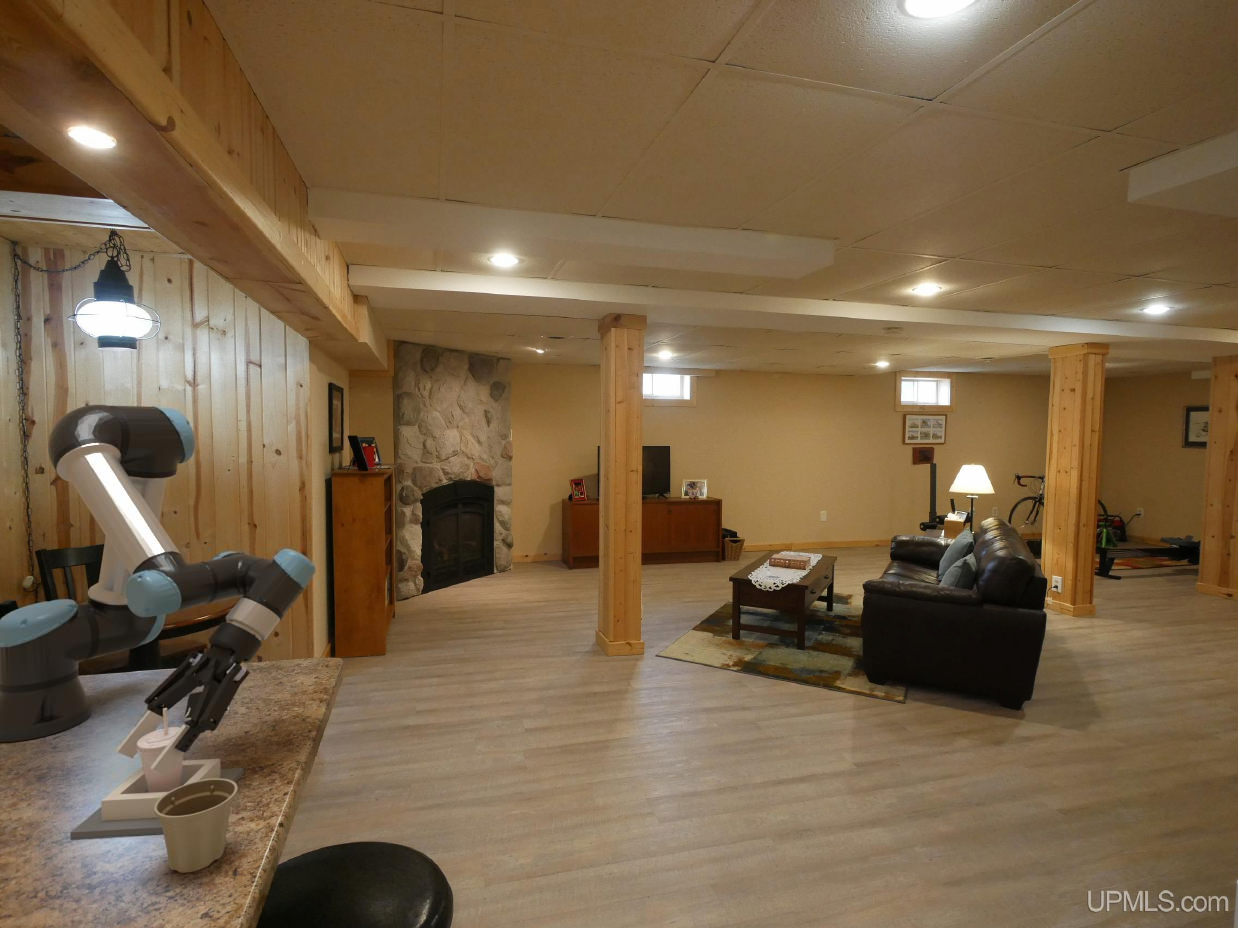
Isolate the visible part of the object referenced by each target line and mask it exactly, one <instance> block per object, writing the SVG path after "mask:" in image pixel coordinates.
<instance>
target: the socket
mask: <svg viewBox="0 0 1238 928" xmlns="http://www.w3.org/2000/svg"><path fill="white" fill-rule="evenodd" d="M244 773H245V769H244V767H236V768H235V767H234V768H233V767H232V768H221V759H220V758H211V759H210V758H209V759H187V760H186V759H185V760H184V759H183V765H182V775H181V785H180V786H183V785H185V784H188V783H192V782H195V781H199V780H204V779H212V778H222V779H229V780H231V781H234V782H235V783H236V784H237V782H238V781H239V780H240V778H242V777H243V775H244ZM166 793H168V792H155V793H149V791H148V786H147V782H146V777H145V773H144V768H143V766H142V767H141V768H139V769H138V770H136V772H134V773H133V774H132V775H131V776H129V777H128V778H127V779H126V780H125V781H123V782H121V784H120V785H119V786H117V787H116V788H115V789H114V790H112V791H111V792H110V793H108V794H107V795H106V796H104V797H103V799H102V800H101V801H100V804H101V805H100V807H99V808H97V810H96V811H94V812H93V813H92V814H91V815H89V816H88V817H87V818H86V819H84V820H83V821H82V822H81V823H80V824H79V825H77V826H76V827H75V828H73V830H71V831H70V833H69V835H70V840H80V839H99V838H111V837H112V838H114V837H115V838H118V837H131V836H133V837H134V836H135V837H136V836H150V835H164V833H163V828H162V824H161V823H160V822H159V818H158V816H157V815H156V814H155V812H154V806H155V804H156V802H157V801H158V800H159V799H160V798H161V797H162V796H163V795H165V794H166Z"/></svg>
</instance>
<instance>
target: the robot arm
mask: <svg viewBox="0 0 1238 928" xmlns="http://www.w3.org/2000/svg"><path fill="white" fill-rule="evenodd" d="M47 443H48V447H47V450H48V451H47V453H48V457H49V461H50V463H51V465H52V467H53V468H54V470H55V471H56V473H57V475H58V476H59V477H60V478H61V479H62V480H64V481H67V482H70V483H72V485H73V486H74V488H75V490H76V491H77V493H78V494H79V497H81V499H82V500H83V502H84V504H85V505H86V507H87V508H88V510H89V512H90V513H91V515H92V516H93V518H94V519H95V521H96V523H97V524H98V526H99V527H100V528H101V530H102V532H103V533H104V535H105V538H104V539H105V540H104V544H103V545H104V546H103V554H102V560H101V566H100V573H99V578H98V582H97V583H95V584H94V585H92V586H90V587H89V589H88V590H87V597H86V601H85V602H83V603H77V602H76V601H75V600H73V599H69V598H67V599H66V598H62V599H54V600H50V601H41V602H37V603H32V604H29V605H25V606H23V607H20V608H18V609H15V610H12V611H10V612H9V613H6V614H5V615H4V616H2V617H1V618H0V742H2V743H4V742H5V743H8V742H12V743H13V742H20V741H21V742H22V741H27V740H28V741H29V740H33V739H37V738H43V737H46V736H50V735H54V734H57V733H60V732H62V731H65V730H68V729H70V728H73V727H77V726H78V725H79V724H81V723H83V722H84V721H86V720H87V719H89V717H90V716H91V713H92V708H91V706H92V705H91V701H90V699H89V698H88V695H87V693H86V691H85V689H84V686H83V685H82V683H81V681H80V678H79V663H80V662H84V661H88V660H91V659H95V658H99V657H103V656H106V655H110V654H113V653H118V652H122V651H124V650H127V651H128V650H132V649H135V648H137V647H140V646H142V645H145V644H148V643H150V642H152V641H153V640H155V638H157V637H158V635H159V634H161V632H162V629H163V627H164V625H165V623H166V622H165V620H166V616H167V615H171V614H172V613H175V612H179V611H183V610H186V609H191V608H194V607H199V606H202V605H203V606H204V605H209V604H212V603H216V602H217V603H218V602H220V601H226V600H230V599H234V598H238V597H241V598H240V599H239V601H237V603H236V604H235V605H234V607H232V609H231V610H230V611H229V612H228V613H227V615H226V616H225V620H226V621H223V622H221V623H219V625H218V626H217V628H216V629H215V630H214V631H213V633H212V634H211V635H210V636H209V637H208V640H207V641H208V642H209V644H210V647H209V648H208V649H207V650H206V651H205V652H204V653H199V652H198V651H197V650H192V651H190V653H188V655H187V657H186V658H185V660H184V661H183V662H181V664H180V665H179V666H178V667H176V669H174V671H173V672H172V673H171V674H169V676H168V677H167V678H165V679H164V680H163V682H161V683H160V684H159V685H158V686H157V687H156V688H155V689H154V690H153V691H152V692H151V693H150V694H149V695H148V696H147V697H146V698H144V699H145V700H143V701H144V704H146V705H147V708H146V711H145V713H144V714H143V715H142V717H141V718H140V719H139V720H138V722H137V723H136V724H135V725H134V727H133V728H132V729H131V731H130V732H129V733H128V734H127V736H126V737H125V738H124V739H123V741H122V742H121V743H120V744H119V745H118V747H117V748H116V749H115V750H114V751H115V752H117V753H120V754H121V755H124V756H126V757H128V758H129V759H134V757H135V756H136V755H137V754H138V753H139V752H138V751H137V742H138V740H139V739H140V738H142V737H143V736H145V735H146V734H148V733H151V732H153V731H156V729H157V728H158V727H159V726H160V724H161V723H162V722H163V709H164V708H167V712H168V711H170V709H172V708H173V707H174V706H175V705H177V704H178V703H179V702H180V701H182V700H183V699H184V698H185V697H187V696H189V695H190V694H191V693H193V692H194V690H195V689H197V688H201V687H203V688H202V691H201V692H202V693H201V695H200V698H199V700H198V703H197V705H196V708H195V710H194V713H193V715H192V718H191V720H188V721H187V722H186V721H185V723H184V724H182V726H181V727H180V730H179V731H178V732H177V734H176V735H175V736H174V737H173V739H172V740H171V741H170V743H169V744H168V745H167V747H166V748H165V749H164V750H163V752H162V753H161V754H160V756H159V757H158V758H157V760H156V761H155V762H154V763H153V765H152V766H151V767H150V768H151V769H154V770H156V771H158V772H160V773H162V774H165V775H167V776H168V775H169V773H170V772H171V771H172V769H173V768H174V767H175V765H176V764H177V763H178V761H179V760H180V759H181V757H182V756H183V757H184V755H185V754H186V753H187V752H188V751H189V750H190V748H191V747H192V746H193V744H194V743H195V741H196V740H197V739H198V737H199V736H200V735H201V734H202V733H205V732H207V731H209V732H214V731H216V730H217V728H218V726H219V725H220V723H221V721H222V719H223V718H224V717H223V716H224V714H225V712H226V710H227V708H228V707H229V705H231V703H232V701H233V699H234V697H235V696H236V693H237V692H238V690H239V688H240V687H241V685H242V683H243V682H244V681H245V680H246V679H247V677H248V676H249V675H250V671H249V670H248V669H247V668H245V667H244V666H241V664H242V663H248V662H250V661H252V660H253V658H254V656H255V655H256V654H257V652H258V651H259V650H260V648H261V647H262V643H263V642H262V641H265V640H267V639H268V637H269V636H270V635H271V634H272V632H273V631H274V630H275V627H277V625H278V624H279V623H280V621H281V620H282V619H283V617H284V616H285V615H286V614H287V613H288V611H289V610H290V608H291V607H292V606H293V605H294V603H295V602H296V601H297V599H298V598H299V597H300V595H301V594H302V593H303V591H304V590H306V589H307V587H308V585H309V583H310V582H311V580H312V578H313V577H314V575H315V574H316V570H317V569H316V566H315V564H314V563H313V562H312V561H311V559H309V558H308V557H307V556H305V555H304V554H302V553H300V552H299V551H297V550H295V549H294V550H293V549H290V548H284V549H281V550H279V551H278V552H277V554H275V555H274V556H273V558H272V559H271V558H264V557H262V556H261V557H260V556H256V555H253V554H250V553H248V552H243V551H225V552H221V553H220V554H218V555H216V556H215V557H213V559H211V560H203V561H197V562H191V563H187V561H186V559H185V558H184V557H183V555H182V554H181V553H180V550H178V548H177V546H176V545H175V543H174V542H173V540H172V539H171V537H170V536H169V534H168V533H167V531H166V530H165V529H164V527H163V525H162V524H161V523H160V521H161V514H162V508H163V503H164V495H165V491H166V484H167V481H169V480H170V479H173V478H174V477H176V476H177V472H178V465H179V464H180V465H181V464H184V463H186V462H188V461H189V460H190V459H191V458H192V457H193V456H194V455H193V454H194V453H195V448H196V441H195V435H194V431H193V427H192V426H191V424H190V421H189V420H188V418H187V417H186V416H185V415H184V414H183V413H182V412H180V411H179V410H176V409H173V408H165V407H159V406H156V405H155V406H154V405H152V406H142V405H140V406H138V405H137V406H136V405H135V406H133V405H106V404H89V405H85V406H81V407H78V408H76V409H73V410H71V411H69V412H68V413H66V414H65V415H63V416H62V417H61V418H60V419H59V420H58V421H57V423H56V424H55V425H54V427H53V428H52V430H51V432H50V435H49V437H48V442H47ZM229 708H230V707H229ZM199 719H200V720H199Z"/></svg>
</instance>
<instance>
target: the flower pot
mask: <svg viewBox="0 0 1238 928" xmlns="http://www.w3.org/2000/svg"><path fill="white" fill-rule="evenodd" d="M237 792H238V785H237V782H236V783H235V782H234V781H231V780H229V779H222V778H212V779H204V780H199V781H195V782H192V783H188V784H185V785H183V786H180V787H177V788H175V789H173V790H171V791H169V792H168V793H166V794H165V795H163V796H162V797H161V798H160V799H159V800H158V801H157V802H156V804H155V806H154V812H155V814H156V815H157V816H158V818H159V822H160V823H161V824H162V828H163V833H164V834H163V837H164V843H165V848H166V852H167V853H166V854H167V860H168V866H169V869H170V870H171V871H176V872H178V873H180V874H184V873H185V874H186V873H191V872H197V871H199V870H203V869H205V868H207V867H208V866H210V865H211V864H212V863H213V862H214V861H217V860H219V859H220V858H221V857H222V855H223V854H224V852H225V847H226V846H225V845H226V839H227V832H228V824H229V821H230V820H229V819H230V818H229V817H230V813H231V806H232V805H233V803H234V798H235V796H236V795H237Z"/></svg>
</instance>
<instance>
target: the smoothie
mask: <svg viewBox="0 0 1238 928" xmlns="http://www.w3.org/2000/svg"><path fill="white" fill-rule="evenodd" d="M168 717H169V716H168V711H167V708H164V709H163V721H162V722H163V728H160V729H157V730H156V729H155V731H153V732H151V733H148V734H146V735H145V736H143V737H142V738H140V739H139V740H138V742H137V751H138V752H137V753H139V754H140V759H141V764H142V767H143V768H144V773H145V777H146V782H147V786H148V791H149V793H155V792H169V791H171V790H173V789H175V788H177V787H180V785H181V775H182V765H183V760H184V755H183V756H182V757H181V759H180V760H179V761H178V763H177V764H176V765H175V767H174V768H173V769H172V771H171V772H170V773H169V775H168V776H167V775H165V774H162V773H160V772H158V771H156V770H154V769H151V768H150V767H151V766H152V765H153V763H154V762H155V761H156V760H157V758H158V757H159V756H160V754H161V753H162V752H163V750H164V749H165V748H166V747H167V745H168V744H169V743H170V741H171V740H172V739H173V737H174V736H175V735H176V734H177V732H178V731H179V730H180V728H181V727H180V726H179V727H178V726H171V727H169V719H168Z"/></svg>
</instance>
